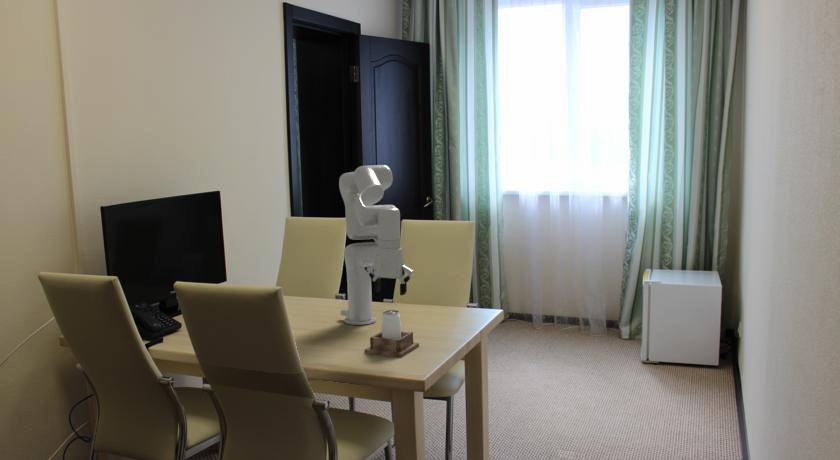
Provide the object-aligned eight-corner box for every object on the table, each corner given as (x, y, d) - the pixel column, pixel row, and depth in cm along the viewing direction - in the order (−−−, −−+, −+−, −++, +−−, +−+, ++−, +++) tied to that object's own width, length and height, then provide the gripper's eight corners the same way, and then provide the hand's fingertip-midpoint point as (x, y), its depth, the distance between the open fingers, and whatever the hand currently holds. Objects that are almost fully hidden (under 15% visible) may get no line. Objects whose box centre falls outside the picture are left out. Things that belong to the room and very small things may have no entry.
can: (403, 344, 257) (402, 310, 256) (397, 349, 251) (396, 314, 250) (386, 343, 259) (385, 309, 258) (379, 348, 253) (378, 313, 252)
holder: (364, 353, 252) (364, 338, 251) (383, 342, 264) (382, 328, 264) (401, 357, 246) (401, 342, 245) (418, 346, 259) (418, 331, 258)
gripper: (361, 244, 251) (362, 293, 254) (407, 247, 244) (408, 297, 247) (372, 241, 258) (373, 289, 260) (417, 243, 251) (417, 293, 253)
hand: (390, 293), depth 253 cm, fingers open, 9 cm apart
